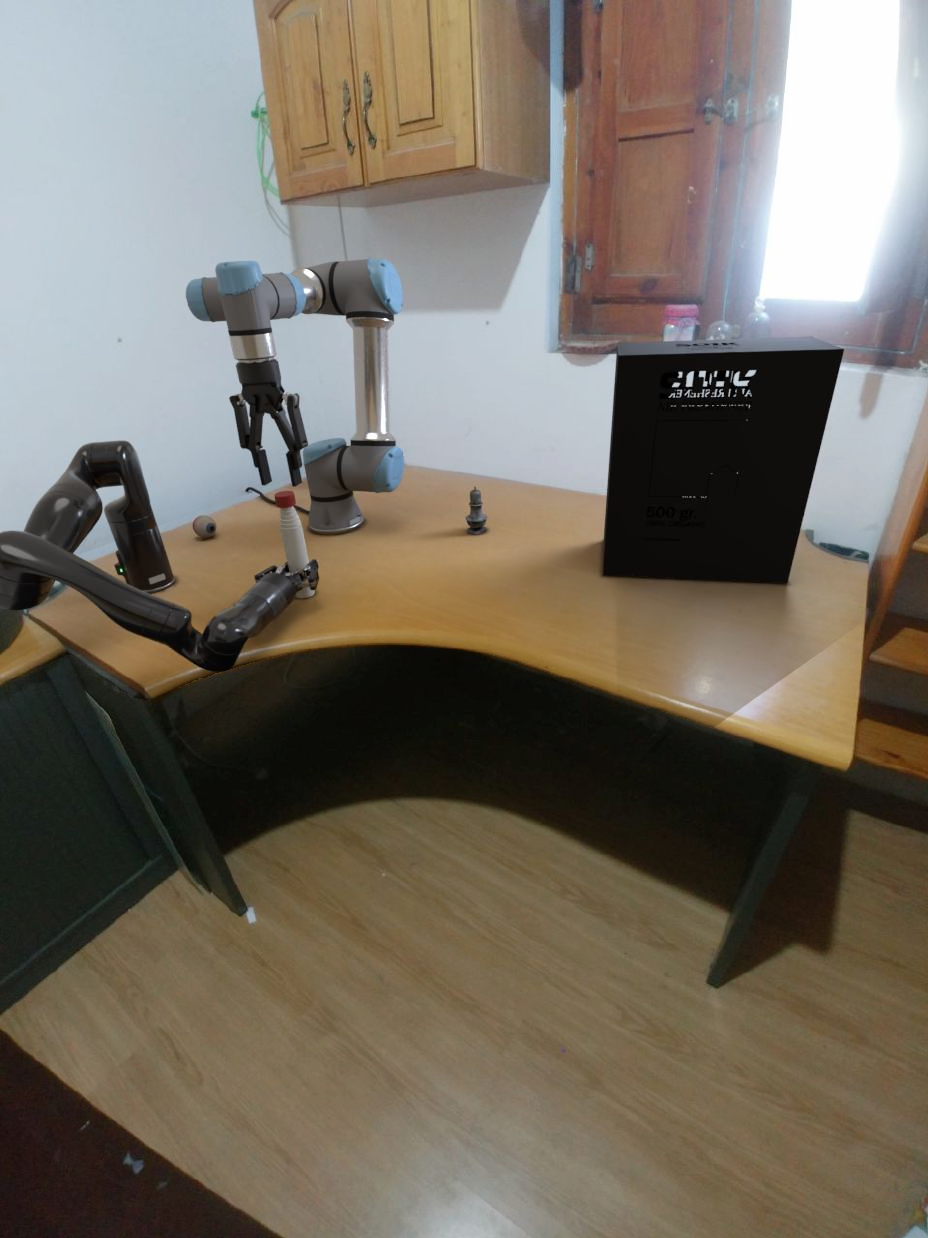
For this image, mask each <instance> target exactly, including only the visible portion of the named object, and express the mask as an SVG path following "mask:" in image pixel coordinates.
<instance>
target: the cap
mask: <svg viewBox="0 0 928 1238" xmlns="http://www.w3.org/2000/svg"><path fill="white" fill-rule="evenodd" d="M274 501H275V502H276V504H275V506H276V507H277V508H279V509H280V508H288V507H292V506H294V505H296V504H297V500H296V495H295V492H294V491H293V490H281V491H278V492H276V493H274Z"/></svg>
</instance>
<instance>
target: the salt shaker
mask: <svg viewBox="0 0 928 1238" xmlns="http://www.w3.org/2000/svg"><path fill="white" fill-rule="evenodd" d="M468 505H469V510H470V511H469V514H468V515H466V516H465V517H464V518H465V521H466V524H467V525H468V528H467V529H466V532H467V533H468V534H472V535H481V534H484V533H486V532H487V531H488V528H487V527H486V526H485V525H486V523H487V519H488V518H489V517H488V515H487V514H484V513H483V505H484V502H482V492H481V491H480V489H477V486H473V489H472V490H470V491H469V503H468Z"/></svg>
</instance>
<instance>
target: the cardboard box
mask: <svg viewBox="0 0 928 1238" xmlns="http://www.w3.org/2000/svg"><path fill="white" fill-rule="evenodd" d="M844 353H845V348H843V347H841V346H838V345H835V344H832V343H830V342H827V341H824V340H821V339H819V338H816V337H814V336H792V337H791V336H790V337H788V336H787V337H757V338H729V339H727V338H726V339H698V340H696V339H695V340H669V341H668V340H667V341H665V340H664V341H635V342H617V343H616V355H615V356H616V357H615V358H616V359H615V372H614V385H613V399H612V412H611V429H610V440H609V441H610V443H609V455H608V456H609V458H608V471H607V483H606V485H607V486H606V501H605V514H604V527H603V544H602V545H603V546H602V549H603V550H602V551H603V552H602V576H606V577H625V578H626V577H627V578H628V577H629V578H630V577H631V578H647V579H648V578H653V579H673V580H695V581H697V580H698V581H699V580H700V581H722V582H745V583H763V584H765V583H767V584H786V585H787V584H788V582H789V578H790V575H791V570H792V566H793V562H794V557H795V554H796V549H797V546H798V541H799V537H800V534H801V529H802V526H803V525H802V524H803V521H804V517H805V513H806V509H807V504H808V501H809V496H810V492H811V488H812V484H813V480H814V475H815V472H816V467H817V464H818V460H819V455H820V451H821V448H822V443H823V439H824V435H825V431H826V427H827V422H828V420H829V419H828V418H829V414H830V410H831V407H832V401H833V397H834V395H835V389H836V385H837V381H838V377H839V374H840V373H839V372H840V370H841V366H842V365H841V364H842V360H843V356H844ZM750 371H755V372H754V373H753V374H752V375H749V376H748V375H747V374H748V373H749V372H750ZM692 372H693V375H692V382H691V386H687V382H688V381H687V379H688V375H689V374H690V373H692ZM700 372H705V375H704V376H700ZM679 373H681V376H680V374H679ZM715 373H716V375H715ZM727 373H728V375H727ZM737 373H738V379H737V381H738V382H747V384H746V385H736V384H735V383H734V380H735V376H736V374H737ZM705 382H706V385H704V384H705ZM718 382H719V383H721V382H722V383H723V386H722V385H721V386H719V385H718V386H717V383H718ZM674 384H679V385H677V386H674Z"/></svg>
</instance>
